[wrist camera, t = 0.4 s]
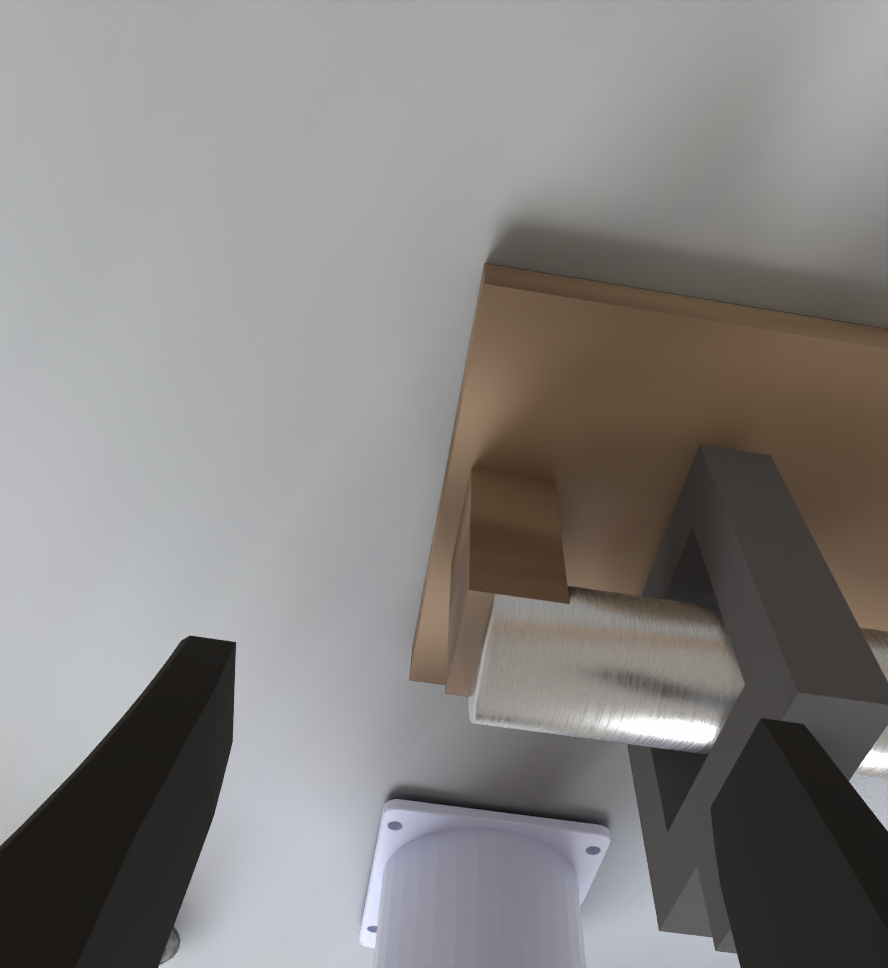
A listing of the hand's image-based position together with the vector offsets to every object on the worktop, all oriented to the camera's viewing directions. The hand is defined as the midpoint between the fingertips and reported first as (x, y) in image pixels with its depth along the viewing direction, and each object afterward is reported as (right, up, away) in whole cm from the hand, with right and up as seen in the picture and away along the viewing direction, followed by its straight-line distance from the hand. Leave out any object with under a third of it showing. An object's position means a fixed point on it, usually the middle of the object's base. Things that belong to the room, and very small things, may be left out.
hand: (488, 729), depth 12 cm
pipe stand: (+10, +2, +11) cm, 15 cm away
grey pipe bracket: (+5, +1, +9) cm, 10 cm away
